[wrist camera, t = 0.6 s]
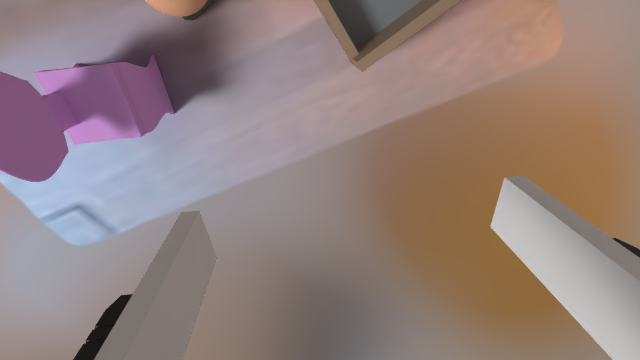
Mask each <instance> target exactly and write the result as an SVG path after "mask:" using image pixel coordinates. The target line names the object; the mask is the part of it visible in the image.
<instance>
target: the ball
mask: <svg viewBox="0 0 640 360" xmlns="http://www.w3.org/2000/svg"><path fill="white" fill-rule="evenodd" d="M145 1H146V2H147V3H148V4H149V5H151V6H152V7H154V8H155V9H157V10H158V11H160V12H162V13H165V14H168V15H171V16H178V17H181V16H188V15H192V14H194V13H196V12H197V11H199V10H200V9H201V8H202V7H203V6H204V5H205V3H206V2H207V0H145Z"/></svg>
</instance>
